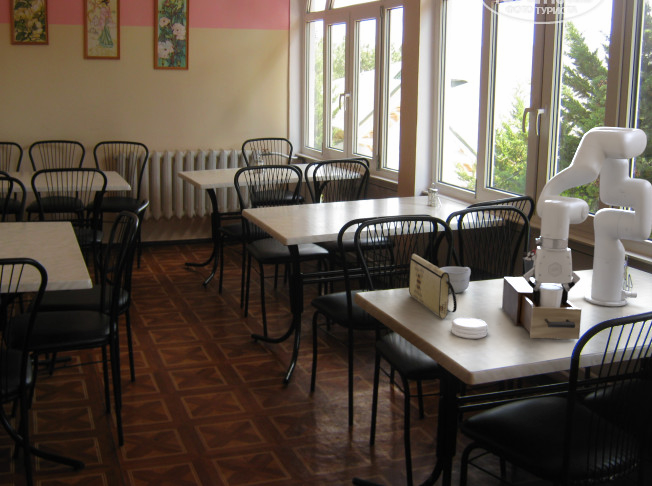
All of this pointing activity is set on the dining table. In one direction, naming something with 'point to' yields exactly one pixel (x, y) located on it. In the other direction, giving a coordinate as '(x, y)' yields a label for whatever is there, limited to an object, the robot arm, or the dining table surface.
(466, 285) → the teacup
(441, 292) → the clutch purse
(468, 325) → the white round disc
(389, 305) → the dining table surface
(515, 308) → the cabinet
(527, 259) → the sundae
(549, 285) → the white cylinder
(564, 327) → the drawer
